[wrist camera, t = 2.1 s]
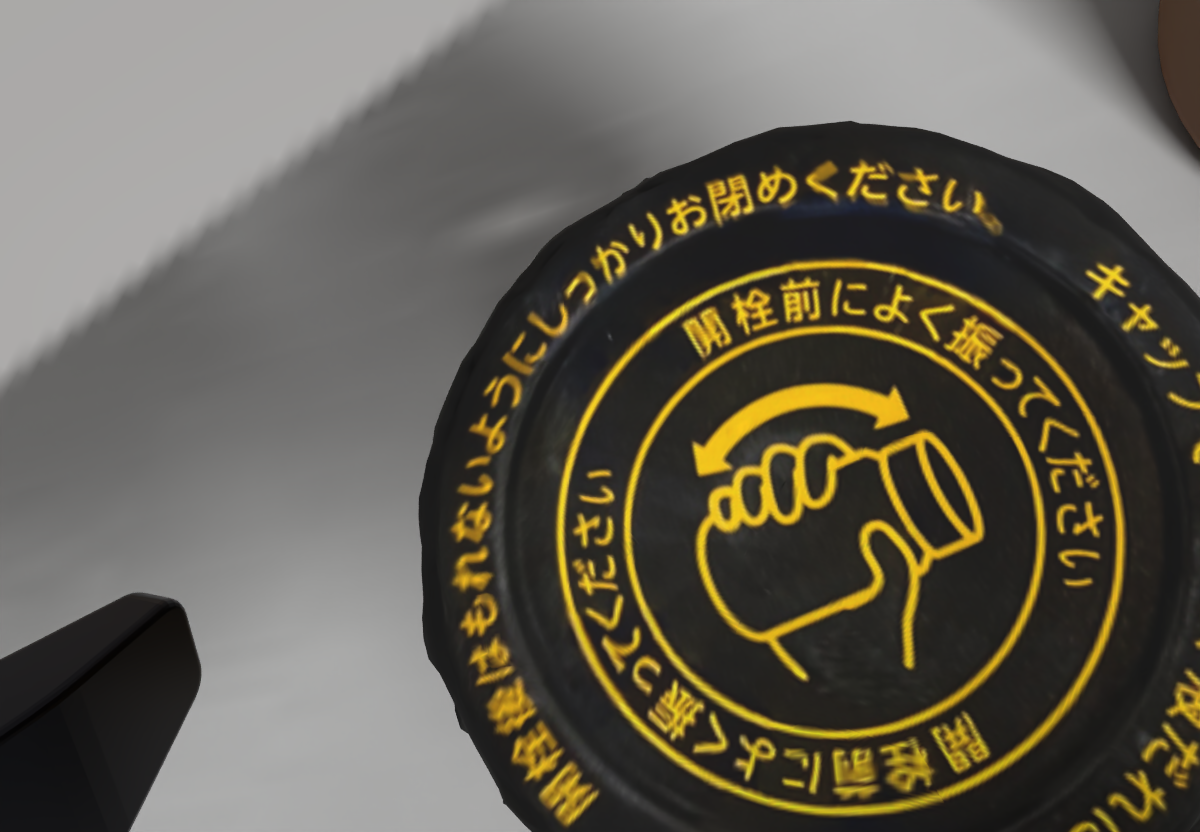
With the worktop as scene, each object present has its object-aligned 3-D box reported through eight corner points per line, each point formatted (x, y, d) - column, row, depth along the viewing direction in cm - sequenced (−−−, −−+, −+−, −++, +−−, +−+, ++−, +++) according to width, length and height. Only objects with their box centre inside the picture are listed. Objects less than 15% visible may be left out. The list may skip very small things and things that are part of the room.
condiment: (925, 943, 17) (1117, 1507, 5) (460, 646, 19) (-104, 589, 8) (1150, 512, 17) (1750, 179, 6) (674, 278, 20) (450, -276, 8)
